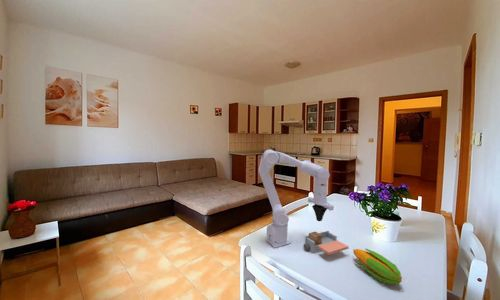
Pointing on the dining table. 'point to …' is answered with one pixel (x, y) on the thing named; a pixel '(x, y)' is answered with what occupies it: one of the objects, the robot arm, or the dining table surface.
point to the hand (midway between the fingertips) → (319, 220)
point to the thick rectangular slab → (333, 247)
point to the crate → (316, 237)
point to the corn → (378, 266)
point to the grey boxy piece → (326, 238)
